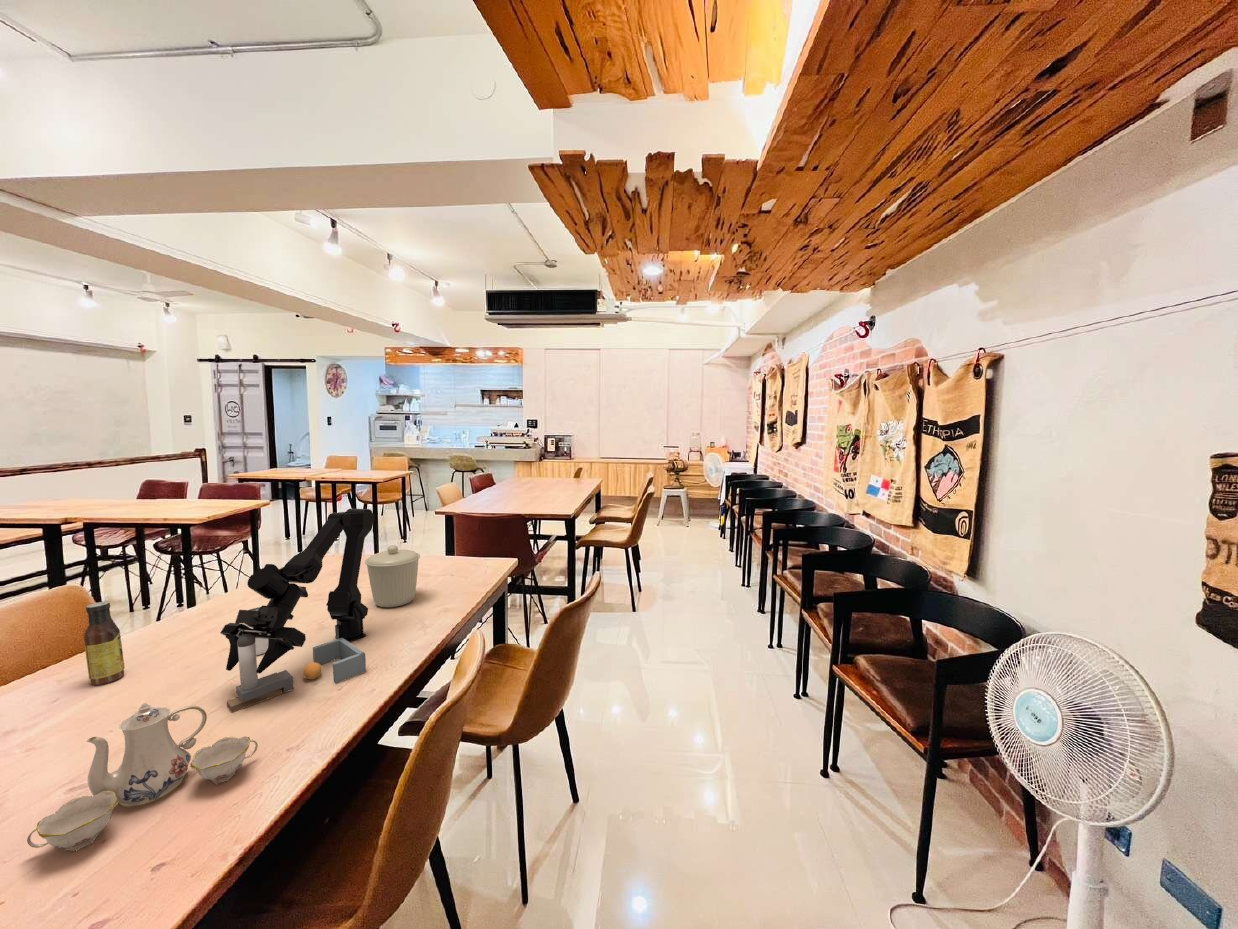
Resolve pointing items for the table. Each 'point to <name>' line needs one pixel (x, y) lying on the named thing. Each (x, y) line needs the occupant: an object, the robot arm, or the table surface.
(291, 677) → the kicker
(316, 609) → the table surface
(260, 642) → the can
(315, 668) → the ball
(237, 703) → the rail
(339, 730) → the table surface
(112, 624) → the sauce bottle
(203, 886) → the table surface
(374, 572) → the canister
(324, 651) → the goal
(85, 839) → the chinaware
